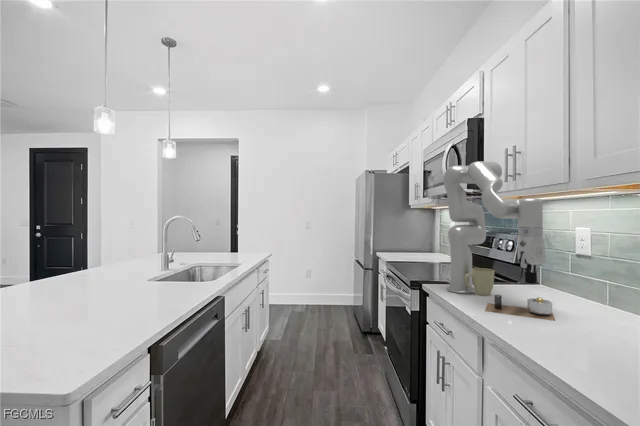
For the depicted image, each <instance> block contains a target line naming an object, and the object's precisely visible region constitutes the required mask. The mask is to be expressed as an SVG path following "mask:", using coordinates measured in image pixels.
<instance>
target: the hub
mask: <svg viewBox="0 0 640 426" xmlns="http://www.w3.org/2000/svg"><path fill="white" fill-rule="evenodd" d="M535 299H536V300H535V301H536V302H544V300H545V299H543V298H542V297H536V298H535ZM530 313H531V314H534V315H538V316H549V314H542V313H535V312H531V311H530Z"/></svg>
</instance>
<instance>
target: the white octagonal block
mask: <svg viewBox="0 0 640 426" xmlns="http://www.w3.org/2000/svg"><path fill="white" fill-rule="evenodd" d="M535 300H536V298H533V297H532V298H527V300H526V302H527V303H526V304H527V305H526V306H527V307H526V308H527V309H528V310H529V311H531V312H535V313H542V314H550V313H552V312H553V302H552V301H550V300H547V299H543V300H544V302H536V301H535Z"/></svg>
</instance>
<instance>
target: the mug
mask: <svg viewBox="0 0 640 426" xmlns="http://www.w3.org/2000/svg"><path fill="white" fill-rule="evenodd" d="M468 275H471V276H472V287H471V286H470V285H469V284H468V282H467V276H468ZM465 282H466V284H467V285H468V286H469V287H470V288H471V289H473V288H474V289H475V290H474V289H473V290H474V291H476V292H475V294H476V296H477V295H478V296H483V297H484V296H485V297H488V296H491V295H492V291H493V288H494V283H495V270H494V269H492V268H483V267H481V268H480V267H476V268H472V274H470V273H468V274H466V276H465Z"/></svg>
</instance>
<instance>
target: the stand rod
mask: <svg viewBox="0 0 640 426" xmlns="http://www.w3.org/2000/svg"><path fill="white" fill-rule="evenodd" d="M493 296H494V297H493V299H494V301H493V302H494V303H493V304H494V308H495V309H502V305H503V300H502V299H503V298H502V295H501V294H494V295H493Z"/></svg>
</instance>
